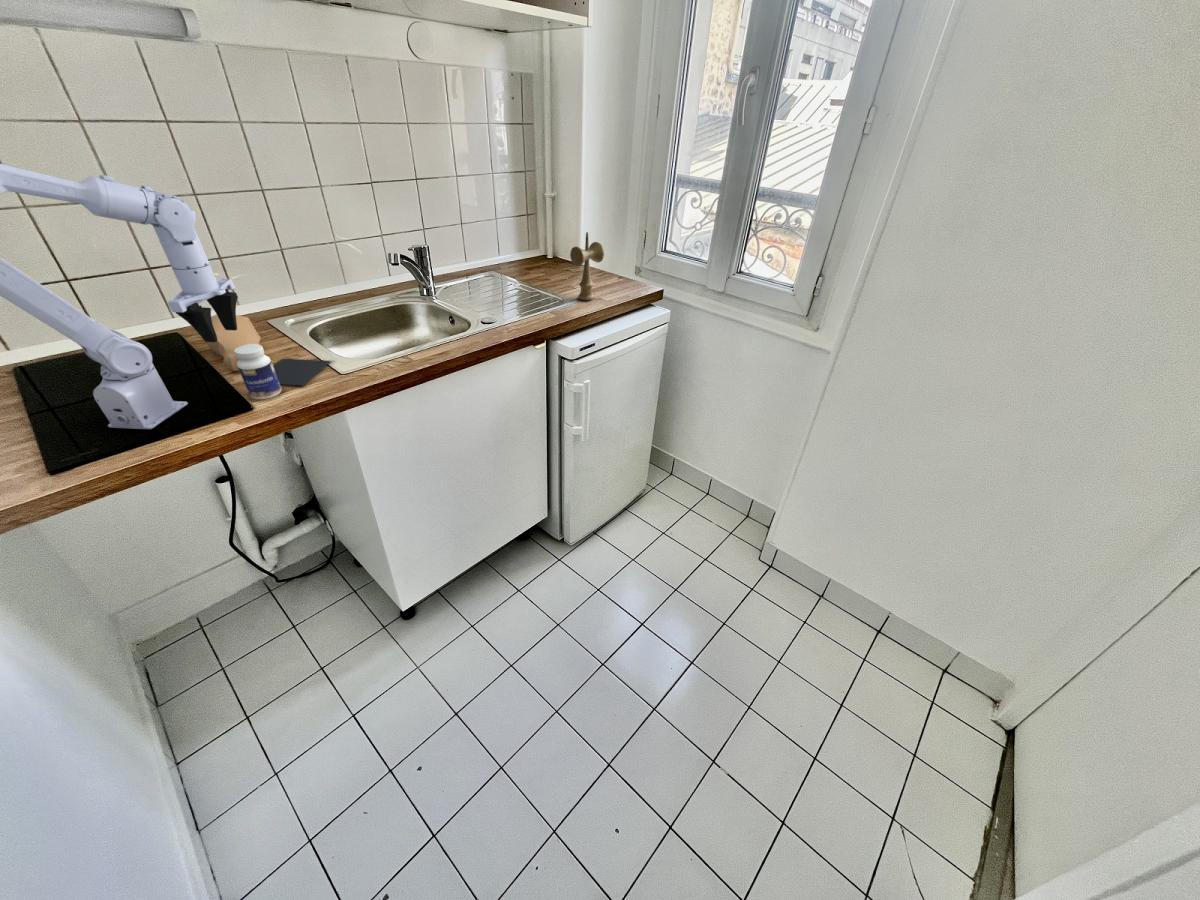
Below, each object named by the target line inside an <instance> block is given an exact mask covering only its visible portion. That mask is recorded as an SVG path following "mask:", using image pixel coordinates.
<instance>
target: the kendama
mask: <svg viewBox="0 0 1200 900" xmlns="http://www.w3.org/2000/svg"><path fill="white" fill-rule="evenodd" d="M589 238H590V237H589V232H588V231H587V232H585V247H584V249H583V248H581V247H579V246H573V247H572V248H571V249H570V262H571V263H572V265H574V266H575V267H581V266H583V270H582V271H583V272H582V277H581V281H580V282H579V283H578V285H579V287H580V292H579V294H578V295H577V298H578V299H579V300H582V301H593V300H594V299H595V297H596V296H595V295H594V292H593V287H594V286H595V283H594V282H593V280H592V278H591V277H592V276H591V270H590V269H591V268H590V260H591V261H592V262H595V263H601V262H603V260H604V257H605V256H604V255H605V251H604V247H603V245H602V244H601V243H600V242H598V241H594V242H591V243H590V245H589Z"/></svg>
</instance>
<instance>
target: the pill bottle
mask: <svg viewBox="0 0 1200 900" xmlns="http://www.w3.org/2000/svg"><path fill="white" fill-rule="evenodd" d="M234 352H235V355H236V357H237V358H239V360H238V362H237V367H238V369H239V371H238V372H239V373H240V376H241V379H242V381H243V384H244V386H245V388H246V390H247V392H248V395H249V397H250V398H252V399H255V400H267V399H271V398H274V397H275V396H278V395H279V394H281V392H282V386H281V385H280V383H279V380H278V378H277V375H276V372H275V370H274V367H273V366H274V364H273V362H272V359H271V358H270V356H268V355H266V354H265V350H264V347H263V346H262V345H261V344H260V343H259V344H247V345H243V346H240V347H237V348H236V349H235V350H234Z"/></svg>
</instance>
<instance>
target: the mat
mask: <svg viewBox="0 0 1200 900" xmlns="http://www.w3.org/2000/svg"><path fill="white" fill-rule="evenodd" d="M330 363H331V361H330V360H319V359H318V360H317V359H297V358H295V359H293V358H292V359H291V358H281V359H280V360H279V361H277V362H276V363H275V364H273V367H274V370H275V372H276V375H277V378H278V380H279V383H280V385H281V387H299V388H300V387H301V388H302V387H304V386H305V385H306V384H308V382H310V381H311V380H312V379H313V378H314V377H315V376H317V374H318V373H320V372H321V371H322V370H323V369H324V368H326V367H327V366H328V365H329V364H330Z"/></svg>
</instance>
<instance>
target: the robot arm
mask: <svg viewBox="0 0 1200 900" xmlns="http://www.w3.org/2000/svg"><path fill="white" fill-rule="evenodd" d="M8 192H9V193H11V192H12V193H17V194H23V195H28V196H34V197H39V198H44V199H45V198H46V199H51V200H56V201H63V202H68V203H74V204H78V205H79V204H80V205H82V206H83V207H84V208H85V209H86V210H88V211H89V213H91V214H92V215H94V216H96V217H101V218H106V219H112V220H118V221H123V222H128V223H133V224H134V223H135V224H140V225H151V226H152V227H153V229H154V232H155V234H156V236H157V238H158V240H159V243H160V246H161V248H162V250H163V252H164V254H165V256H166V258H167V261H168V263H169V266H170V267H171V269H172V271H173V274H174V276H175V278H176V280H177V282H178V285H179V286H180V288H181V291H180V292H179V293H178V294H177V295H176V296H174V298H172V299H170V300H168V301H167V304H168V306H169V308H170V310H171V312H172V313H175V314H176V315H178V316H179V317H180V318H181V319H183V320H184V321H185V322H187V323H188V324H189V325H190V326H191V327H192V328H193V329H194V330H195V331H196V332H197V333H198V335H199V336H200V337H201V339H203V341H204V342H205V343H206V342H216V341H217V335H216V333H215V330H214V327H213V324H212V320H211V316H212V310H213V311H214V312H215V315H217V316H218V318H219V320H220V322H221V324H222V325H223V327H224V328H225V330H234V331H235V330H237V322H236V315H237V303H238V302H237V301H238V298H239V296H238V294H237V292H236V291H233V290H235V289H236V287H235V284H234V282H233V279H232V278H220V279H217V278H216V276H215V274H214V271H213V268H212V266H211V264H210V261H209V259H208V256H207V254H206V252H205V249H204V246H203V244H202V243H201V240H200V238H199V236H198V233H197V231H196V229H195V225H196V223H197V214H196V212H195V210H193V209H192V208H191V207H190V205H189V204H188V203H187V202H186V201H185V200H183V199H182V197H179V196H177V195H174V194H170V193H165V192H161V191H157V190H156V189H153V188H152V187H151V186H147V185H142V184H141V186H135V185H130V184H127V183H122V182H118V181H115V178H114V177H113V176H109V175H106V174H99V176H98V177H97V176H92V175H91V176H88V177H86V178H84V179H83V180H80V181H73V180H69V179H65V178H61V177H57V176H52V175H48V174H44V173H40V172H36V171H33V170H28V169H24V168H19V167H15V166H12V165H6V164H4V163H0V195H1V194H4V193H8ZM0 297H2V298H3V299H5V300H7V301H8V302H9V303H11V304H13V305H14V306H16V307H18V308H19V309H21V310H22V311H24V312H26V313H28V314H29V315H30V316H32V317H34V318H35V319H37V320H39V321H40V322H42V323H44V324H45V325H47V326H49V327H50V328H52V329H54V330H55V331H57V332H58V333H60V334H62V335H63V336H65V337H66V338H68V339H69V340H71V341H72V342H74V343H76V344H77V345H78V346H80V348H81V349H82V350H83V351H84V353H85V355H86V356H87V357H88V358H89V359H91V360H92V361H94V362H96V363H99V364H100V365H101V366H100V373H99V374H100V376H101V377H102V380H101V382H100V383H99V384H98V385H97V386H96V387H95V388H94V389H93V390H92V395H93V398H94V401H95V402H96V403H97V405H98V407H99V408H100V410H101V411H102V413H103V414H104V415H105V417H106V419H107V420H108V422H109V423H108V424H107V427H108V428H110V429H111V428H112V429H132V430H152V429H154V428H155V427H157V426H159V425H160V424H161V423H162V422H164V421H166V420H168V419H169V418H170V417H172V416H173V415H175V414H176V413H178V412H179V411H181V410H182V409H183V408H185V407H186V406H188V405H189V403H188V402H187V401H181V400H180V401H179V400H178V401H177V400H173V398H172V396H171V394H170V392H169V391H168V389H167V387H166V384H165V383H164V382H163V379H162V378H161V376H160V375H159V372H158V370H157V369H156V367H155V365H154V363H153V355H152V352H151V351H150V350H149V348H148V347H146V345H144V344H143V343H140V342H138V341H136V340H134V339H133V340H132V339H130V338H129V337H127V336H126V335H124V334H122V333H121V332H120V331H117V330H114V329H109V328H108V327H106V326H105V325H103V324H101V323H99V322H98V321H96V320H95V319H94V318H92V317H90V316H88V314H86V313H84V312H83V311H82V310H80V309H78V308H77V307H75V306H74V305H73V304H71V303H69V302H68V301H67V300H65V299H63V298H62V297H60V296H59V295H57V294H56V293H55V292H53V291H51V290H50V289H49V288H47V287H46V286H44V285H43V284H41V283H39V282H38V281H37V280H36V279H34V278H32V277H31V276H29V275H28V274H26V273H24V272H23V271H22V270H20V269H18V268H17V267H16V266H14V265H13V264H11V263H10V262H9V261H7V260H5V259H4V258H2V257H0ZM205 301H206V302H207V303H208V304H209V305H210V306H211V307H206V306H205V307H203V306H202V305H200V304H201V303H203V302H205Z"/></svg>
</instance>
